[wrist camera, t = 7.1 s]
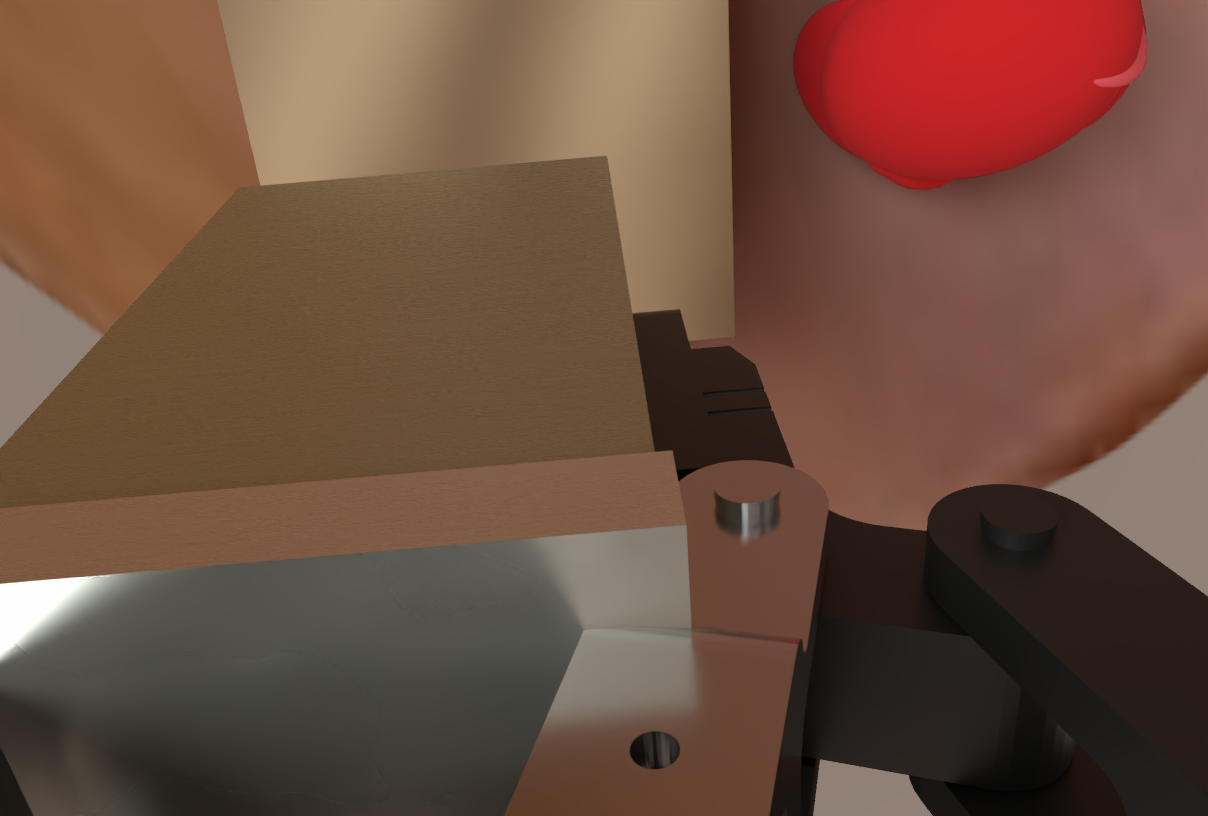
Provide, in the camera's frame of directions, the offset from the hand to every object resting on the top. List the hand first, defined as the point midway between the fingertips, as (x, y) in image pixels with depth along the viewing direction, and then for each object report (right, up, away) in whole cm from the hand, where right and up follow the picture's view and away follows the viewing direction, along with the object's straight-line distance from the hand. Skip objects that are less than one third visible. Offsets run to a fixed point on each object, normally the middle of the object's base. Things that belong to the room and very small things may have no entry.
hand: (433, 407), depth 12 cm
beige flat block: (-1, +8, +16) cm, 18 cm away
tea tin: (0, +1, +2) cm, 2 cm away
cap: (+11, +10, +16) cm, 21 cm away
